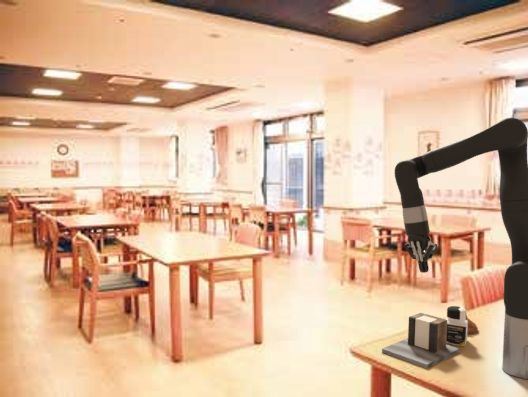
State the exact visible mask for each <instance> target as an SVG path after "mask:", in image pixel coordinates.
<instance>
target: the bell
mask: <svg viewBox="0 0 528 397" xmlns="http://www.w3.org/2000/svg"><path fill="white" fill-rule="evenodd" d="M466 320H467V321H468V330H467V335H473V334H477V333H478V332H479V330H478V328H479V327H478V326H477V324H476V323H475V322H473V321H472V320H471V319H469V318H468V316H467V314H466Z"/></svg>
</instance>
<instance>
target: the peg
mask: <svg viewBox="0 0 528 397" xmlns="http://www.w3.org/2000/svg"><path fill="white" fill-rule="evenodd" d="M436 320H437V319H434V318H431V317H427V316H421V317H418V318H416V319H415V346H418V347H422V348H425V349H428V350H429V332H430V323H431V322H433V321H436Z"/></svg>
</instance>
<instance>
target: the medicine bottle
mask: <svg viewBox="0 0 528 397" xmlns="http://www.w3.org/2000/svg"><path fill="white" fill-rule="evenodd" d="M466 315H467V310H466V309H465V308H464V307H462V306H456V305H451V306H448V307H447V309H446V318H445V319H446V320H447V339H446V344H448V345H449V344H450V345H456V346H460V347H461V346H462V347H466V346H467V340H468V334H467V330H468V321H467V320H466Z"/></svg>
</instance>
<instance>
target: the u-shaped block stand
mask: <svg viewBox="0 0 528 397" xmlns="http://www.w3.org/2000/svg"><path fill="white" fill-rule="evenodd" d="M421 316H427V317H431V318H434V319H437V320H436V321H433V322H431V323H430V332H429V350H428V349H425V348H422V347H418V346H415V319H416V318H418V317H421ZM407 332H408V333H407V337H406V338H403V340H400V341H397V342H394V343H392V344H390V345H387V346H385V347H383V348H381V352H382V353H384V354H387V355H389V356H391V357H394V358H397V359H400V360H403V361H404V362H407V363H411V364H414V365H416V366H419V367H422V368H424V369H429V368H431V367H433V366H435V365H437V364H439V363H441V362H442V361H445V360H446V359H449V358H451V357H452V356H454V355H456V354H458V353H460V348H459V347H455V346H453V345H451V344H450V345H449V344H447V343H446V339H447V320H446V318H442V317H438V316H434V315H430V314H427V313H424V312H420V313H415V314H413V315H411V316H409V317H408V330H407Z"/></svg>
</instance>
